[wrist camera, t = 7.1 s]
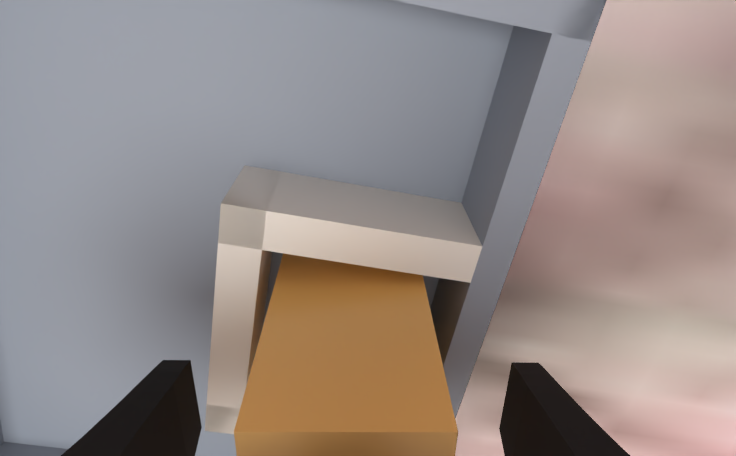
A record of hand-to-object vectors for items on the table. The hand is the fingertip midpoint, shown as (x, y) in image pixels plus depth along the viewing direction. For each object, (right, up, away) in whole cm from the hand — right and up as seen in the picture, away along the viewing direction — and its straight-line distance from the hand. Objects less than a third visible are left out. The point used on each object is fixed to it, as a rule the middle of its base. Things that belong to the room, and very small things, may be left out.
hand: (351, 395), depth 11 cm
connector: (0, +2, +4) cm, 4 cm away
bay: (-4, +3, +4) cm, 6 cm away
